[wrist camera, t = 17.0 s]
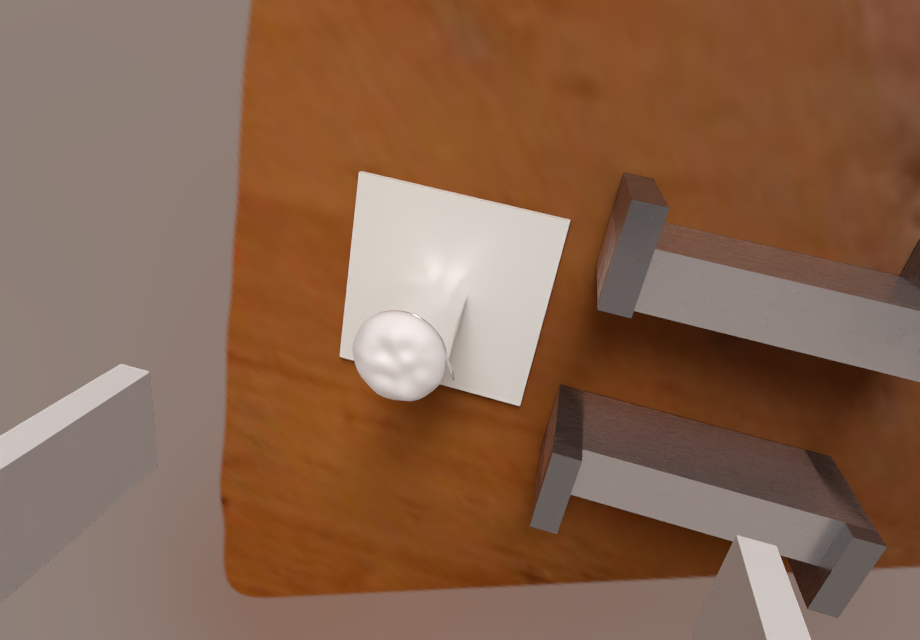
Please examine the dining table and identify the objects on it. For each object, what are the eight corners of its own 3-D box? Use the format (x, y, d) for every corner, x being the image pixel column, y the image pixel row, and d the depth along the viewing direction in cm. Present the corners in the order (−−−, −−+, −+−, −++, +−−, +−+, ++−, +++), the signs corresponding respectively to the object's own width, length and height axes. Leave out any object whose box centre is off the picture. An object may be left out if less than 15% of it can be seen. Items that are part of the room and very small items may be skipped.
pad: (570, 219, 31) (570, 221, 31) (520, 402, 36) (520, 406, 36) (361, 171, 32) (359, 172, 32) (341, 354, 38) (339, 356, 37)
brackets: (953, 245, 28) (1058, 296, 21) (794, 521, 35) (837, 618, 29) (623, 172, 30) (632, 199, 23) (540, 449, 37) (529, 526, 31)
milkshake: (495, 330, 34) (460, 422, 25) (409, 332, 35) (347, 421, 26) (487, 257, 32) (447, 328, 24) (398, 261, 34) (327, 330, 25)
